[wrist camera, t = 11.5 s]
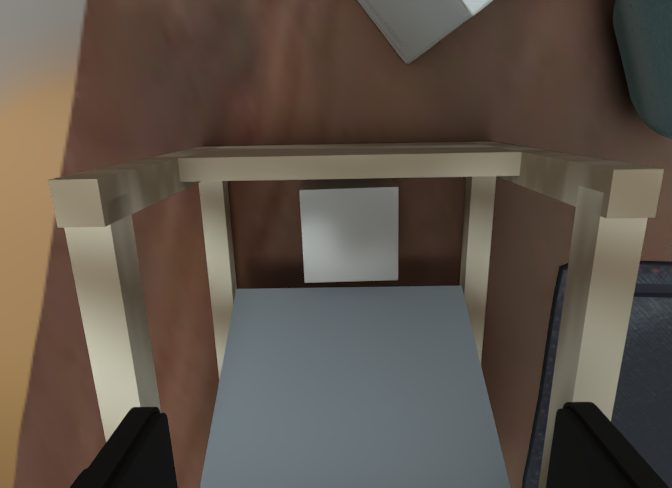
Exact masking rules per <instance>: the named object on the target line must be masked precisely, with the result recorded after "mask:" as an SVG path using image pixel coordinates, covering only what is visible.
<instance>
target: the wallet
mask: <svg viewBox="0 0 672 488" xmlns="http://www.w3.org/2000/svg"><path fill="white" fill-rule="evenodd" d="M567 271H568V264H565V265H562V266H560V268H559V272H558V277H557V282H556V287H555V291H554V297H553V303H552V309H551V315H550V321H549V328H548V335H547V342H546V349H545V356H544V362H543V369H542V376H541V383H540V390H539V396H538V402H537V407H536V413H535V418H534V424H533V429H532V435H531V440H530V446H529V451H528V457H527V461H526V466H525V471H524V476H523V484H522V488H538V486H539V479H540V472H541V464H542V457H543V449H544V442H545V434H546V427H547V420H548V412H549V405H550V397H551V390H552V382H553V375H554V367H555V360H556V353H557V345H558V338H559V330H560V323H561V315H562V308H563V300H564V293H565V286H566V278H567ZM611 422H612V424H613V425H614V426H615V427H616V428H617V429H618V430H619V431H620V433H621V434H622V435H623V436H624V437H625V438H626V439H627V440H628V442H629V443H630V444H631V445H632V446H633V447H634V448H635V449H636V451H637V452H638V453H639V454H640V455H641V456H642V457H643V458H644V460H645V461H646V462H647V463H648V464H649V465H650V466H651V467H652V469H653V470H654V471H655V472H656V473H657V474H658V475H659V476H660V478H661V479H662V480H663V481H664V482H665V483H666V484H667V485H668V487H669V488H672V262H659V261H640V263H639V269H638V274H637V280H636V285H635V291H634V296H633V302H632V307H631V313H630V318H629V324H628V329H627V335H626V340H625V346H624V351H623V357H622V362H621V368H620V373H619V379H618V384H617V390H616V395H615V401H614V406H613V412H612V418H611Z"/></svg>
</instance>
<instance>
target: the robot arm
mask: <svg viewBox="0 0 672 488" xmlns="http://www.w3.org/2000/svg"><path fill="white" fill-rule="evenodd" d="M70 488H178V487H177V480H176V473H175V467H174V460H173V453H172V446H171V439H170V432H169V426H168V419H167V415H166V414H165V413H160V410H159V408H158V407H133V408H131V409H130V410H129V412H128V413H127V414H126V416H125V417H124V419H123V420H122V421H121V423H120V424H119V426H118V427H117V428H116V430H115V431H114V433H113V434H112V435H111V437H110V438H109V440H108V441H107V442H106V444H105V445H104V446H103V448H102V449H101V451H100V452H99V453H98V455H97V456H96V458H95V459H94V460H93V462H92V463H91V465H90V466H89V467H88V468H87V469H85V470H83V471H82V473H81V474H80V475H79V476H78V477H77V479H76V480H75V481H74V483H73V484H72V486H71V487H70ZM546 488H669V487H668V485H667V484H666V483H665V482H664V481H663V480H662V479H661V478H660V476H659V475H658V474H657V473H656V472H655V471H654V470H653V469H652V467H651V466H650V465H649V464H648V463H647V462H646V461H645V460H644V458H643V457H642V456H641V455H640V454H639V453H638V452H637V451H636V449H635V448H634V447H633V446H632V445H631V444H630V443H629V442H628V440H627V439H626V438H625V437H624V436H623V435H622V434H621V433H620V431H619V430H618V429H617V428H616V427H615V426H614V425H613V424H612V422H611V421H610V420H609V419H608V418H607V417H606V416H605V415H604V413H603V412H602V411H601V410H600V409H599V408H598V407H597V406H596V405H595V404H594V403H592V402H566V403H565V404H564V405H563V409H558V410H557V412H556V417H555V425H554V432H553V439H552V446H551V453H550V460H549V467H548V475H547V482H546Z"/></svg>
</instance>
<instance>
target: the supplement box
mask: <svg viewBox="0 0 672 488" xmlns="http://www.w3.org/2000/svg"><path fill="white" fill-rule="evenodd" d="M357 1H358V2H359V4H360V5H361V6H362V7H363V9H364V10H365V11H366V13H367V14H368V15H369V17H370V18H371V19H372V21H373V22H374V23H375V24H376V26H377V27H378V28H379V30H380V31H381V32H382V34H383V35H384V36H385V38H386V39H387V40H388V42H389V43H390V44H391V46H392V47H393V48H394V50H395V51H396V52H397V53H398V55H399V56H400V57H401V58H402V60H403V61H404V62H405V63H406V64H410V63H411V62H413V61H414V60H415V59H417V58H418V57H419V56H421V55H422V54H423V53H425V52H426V51H427V50H429V49H430V48H431V47H432V46H434V45H435V44H436V43H437V42H439V41H440V40H441V39H443V38H444V37H445V36H447V35H448V34H449V33H451V32H452V31H453V30H455V29H456V28H457V27H458V26H460V25H461V24H462V23H464V22H465V21H466V20H468V19H469V18H471V17H472V16H474V15H475V14H477V13H478V12H479V11H481V10H482V9H483V8H485V7H486V6H487V5H488V4H489V3H491V2H492V1H493V0H357Z"/></svg>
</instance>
